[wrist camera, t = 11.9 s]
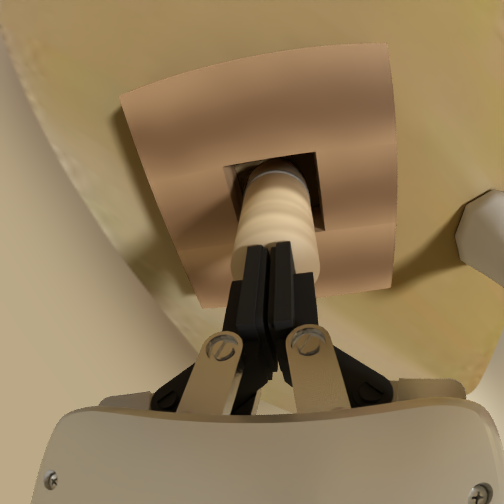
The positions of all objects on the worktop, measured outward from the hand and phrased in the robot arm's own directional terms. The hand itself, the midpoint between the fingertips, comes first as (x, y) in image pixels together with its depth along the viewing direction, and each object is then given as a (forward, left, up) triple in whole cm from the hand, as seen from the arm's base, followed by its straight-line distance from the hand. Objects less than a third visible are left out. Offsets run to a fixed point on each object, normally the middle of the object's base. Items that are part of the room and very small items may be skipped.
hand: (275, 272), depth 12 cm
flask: (+6, +17, -9) cm, 20 cm away
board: (0, 0, -9) cm, 9 cm away
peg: (0, 0, -9) cm, 9 cm away
